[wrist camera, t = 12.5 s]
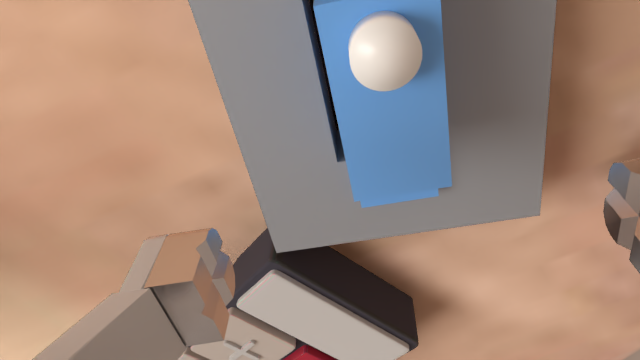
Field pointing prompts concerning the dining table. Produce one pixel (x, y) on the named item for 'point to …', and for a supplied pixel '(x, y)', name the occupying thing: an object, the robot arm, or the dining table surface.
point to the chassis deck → (325, 141)
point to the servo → (388, 95)
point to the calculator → (310, 310)
